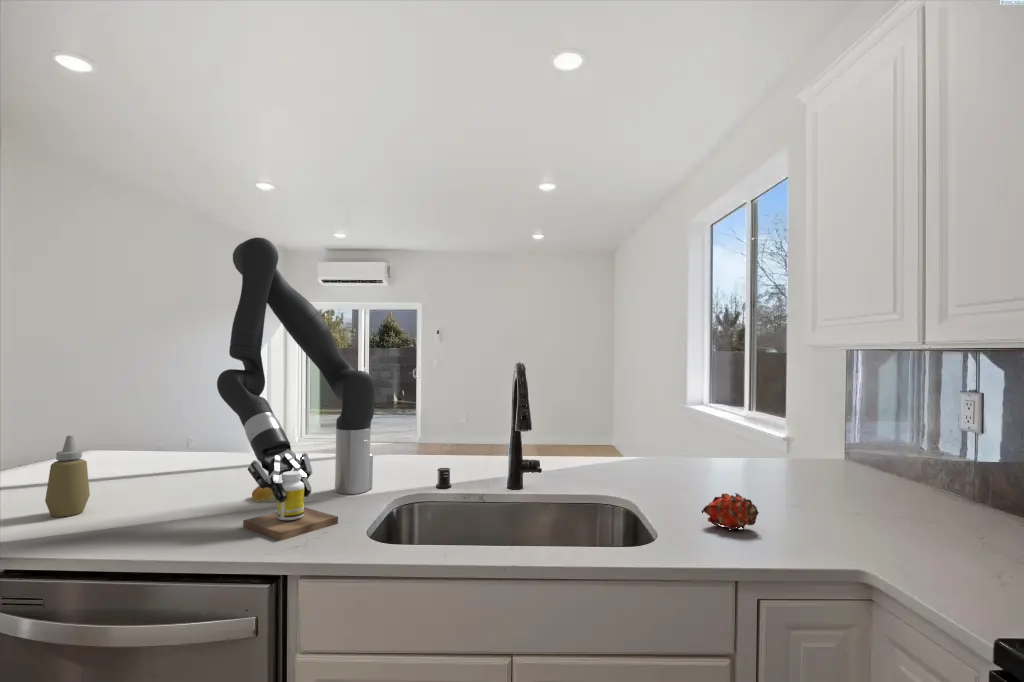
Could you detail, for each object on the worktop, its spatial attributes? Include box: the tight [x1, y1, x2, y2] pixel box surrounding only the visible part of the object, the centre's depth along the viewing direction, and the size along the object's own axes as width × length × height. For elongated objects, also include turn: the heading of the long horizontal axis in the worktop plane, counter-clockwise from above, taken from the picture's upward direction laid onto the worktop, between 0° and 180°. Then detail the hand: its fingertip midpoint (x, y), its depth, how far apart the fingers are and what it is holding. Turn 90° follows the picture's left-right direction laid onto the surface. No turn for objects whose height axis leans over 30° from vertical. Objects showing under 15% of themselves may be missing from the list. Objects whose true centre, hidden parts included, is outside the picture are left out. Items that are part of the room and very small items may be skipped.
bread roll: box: [251, 485, 278, 503], centre depth 143 cm, size 8×9×4 cm
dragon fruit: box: [701, 492, 760, 530], centre depth 123 cm, size 8×8×12 cm
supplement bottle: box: [276, 470, 305, 520], centre depth 121 cm, size 5×5×10 cm
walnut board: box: [242, 506, 339, 541], centre depth 121 cm, size 14×14×2 cm
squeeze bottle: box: [44, 435, 91, 518], centre depth 128 cm, size 8×8×18 cm
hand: (296, 497), depth 120 cm, fingers closed on supplement bottle, 5 cm apart
